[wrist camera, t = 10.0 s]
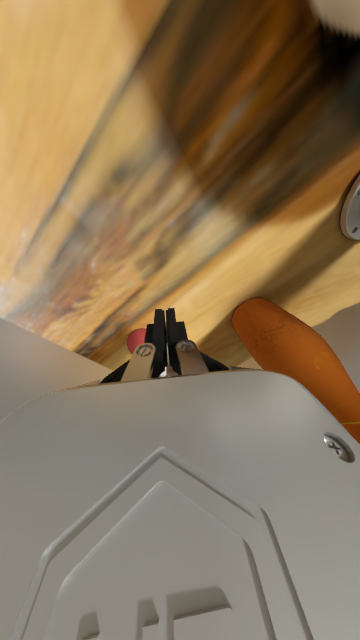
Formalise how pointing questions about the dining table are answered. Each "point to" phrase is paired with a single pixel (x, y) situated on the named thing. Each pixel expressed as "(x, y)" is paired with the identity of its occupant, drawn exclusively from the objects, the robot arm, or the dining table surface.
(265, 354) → the wine bottle
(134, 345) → the ball
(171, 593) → the robot arm
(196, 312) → the dining table surface
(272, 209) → the dining table surface
